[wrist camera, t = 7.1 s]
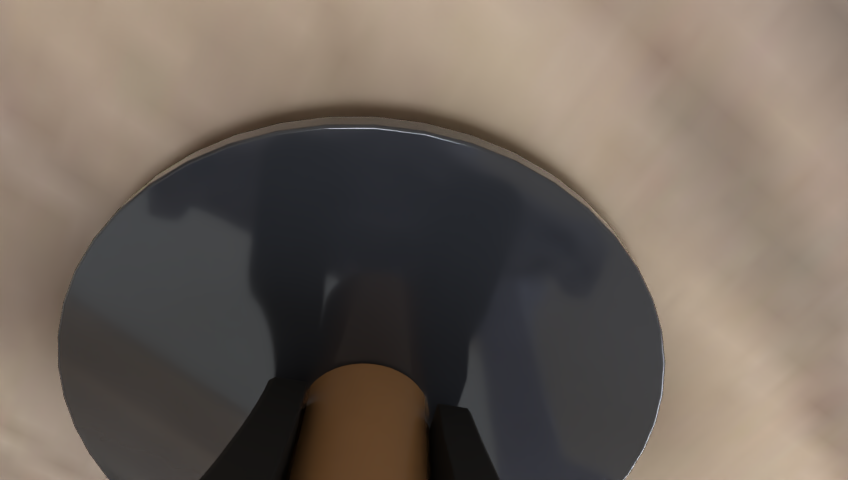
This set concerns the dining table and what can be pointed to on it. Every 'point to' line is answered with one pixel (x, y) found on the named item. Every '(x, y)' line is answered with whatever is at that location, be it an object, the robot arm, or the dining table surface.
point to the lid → (361, 310)
